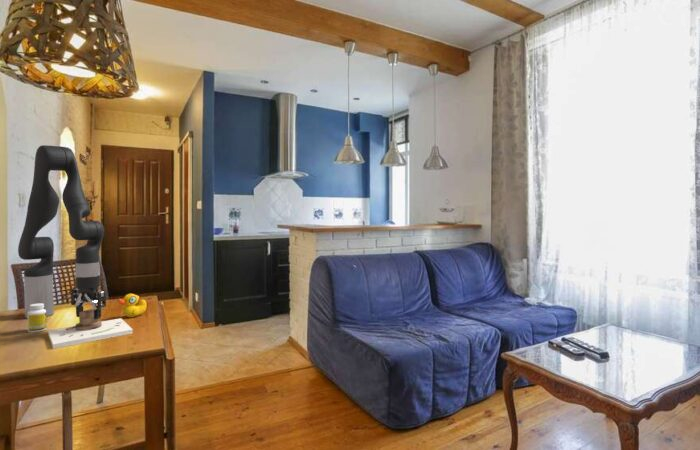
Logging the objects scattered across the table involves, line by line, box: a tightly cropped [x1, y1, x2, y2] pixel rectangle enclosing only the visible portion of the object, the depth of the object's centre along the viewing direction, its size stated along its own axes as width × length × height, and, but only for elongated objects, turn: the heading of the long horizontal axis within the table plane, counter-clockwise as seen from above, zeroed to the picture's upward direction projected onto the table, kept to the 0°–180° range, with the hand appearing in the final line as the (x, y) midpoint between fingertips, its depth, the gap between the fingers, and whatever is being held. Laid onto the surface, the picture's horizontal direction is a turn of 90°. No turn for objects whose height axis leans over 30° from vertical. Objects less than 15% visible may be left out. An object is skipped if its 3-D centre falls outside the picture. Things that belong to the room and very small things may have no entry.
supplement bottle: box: [27, 303, 47, 333], centre depth 138 cm, size 5×5×10 cm
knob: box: [65, 308, 103, 330], centre depth 136 cm, size 12×8×6 cm, turn 163°
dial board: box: [47, 317, 134, 350], centre depth 135 cm, size 18×23×2 cm
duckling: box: [117, 293, 147, 318], centre depth 157 cm, size 11×5×10 cm, turn 149°
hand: (88, 317), depth 138 cm, fingers open, 8 cm apart
